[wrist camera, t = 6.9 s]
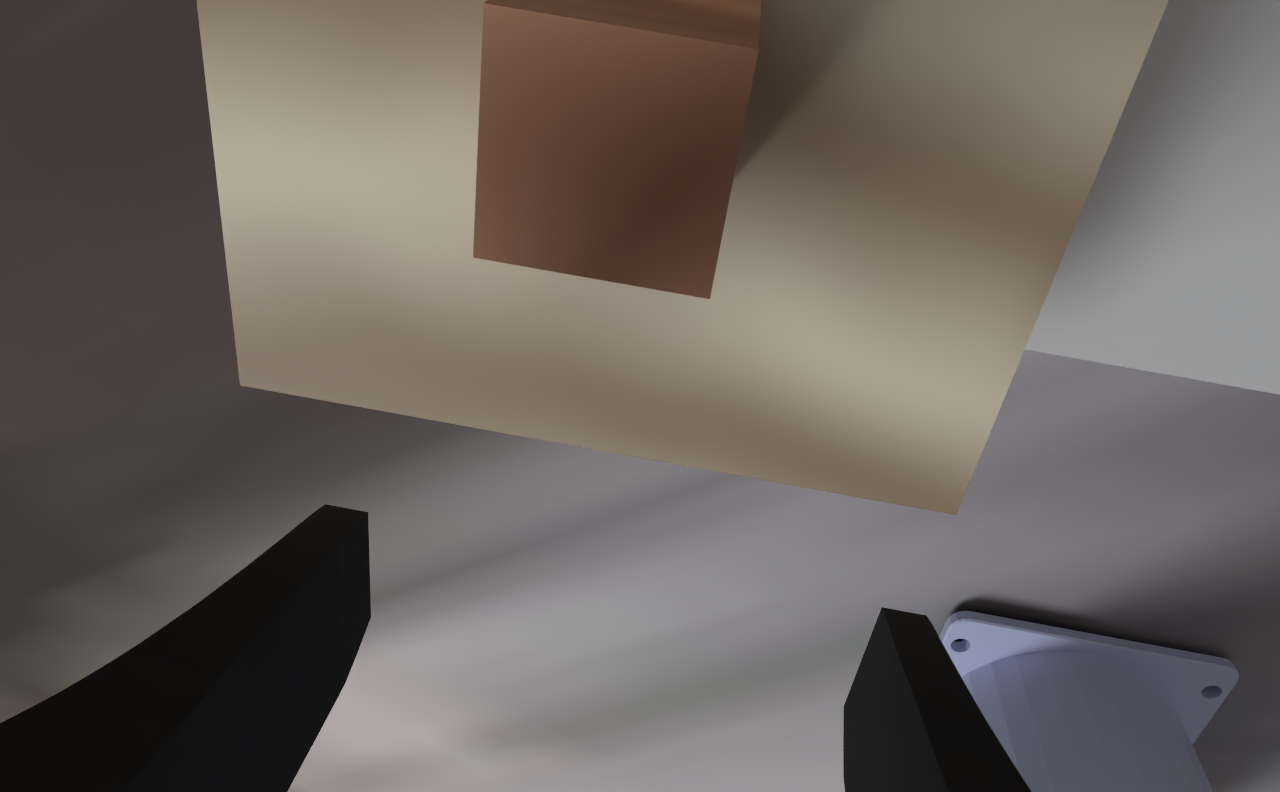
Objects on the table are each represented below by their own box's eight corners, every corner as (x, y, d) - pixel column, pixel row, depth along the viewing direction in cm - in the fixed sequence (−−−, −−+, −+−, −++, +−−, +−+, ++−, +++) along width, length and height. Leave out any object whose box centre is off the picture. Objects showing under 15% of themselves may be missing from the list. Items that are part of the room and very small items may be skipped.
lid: (949, 489, 18) (1000, 679, 14) (259, 364, 19) (119, 515, 15) (1322, -445, 11) (1647, -598, 7) (161, -620, 11) (-179, -863, 7)
